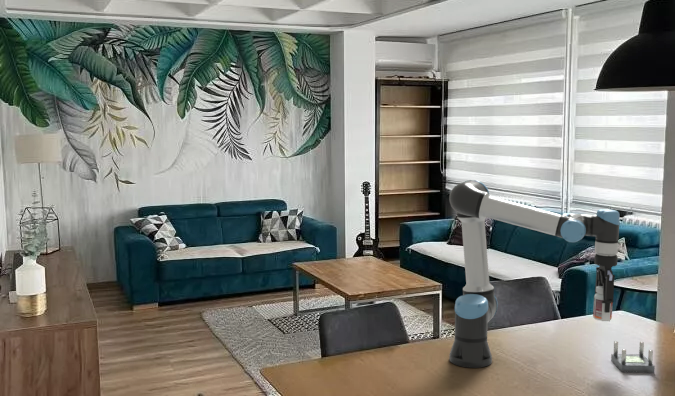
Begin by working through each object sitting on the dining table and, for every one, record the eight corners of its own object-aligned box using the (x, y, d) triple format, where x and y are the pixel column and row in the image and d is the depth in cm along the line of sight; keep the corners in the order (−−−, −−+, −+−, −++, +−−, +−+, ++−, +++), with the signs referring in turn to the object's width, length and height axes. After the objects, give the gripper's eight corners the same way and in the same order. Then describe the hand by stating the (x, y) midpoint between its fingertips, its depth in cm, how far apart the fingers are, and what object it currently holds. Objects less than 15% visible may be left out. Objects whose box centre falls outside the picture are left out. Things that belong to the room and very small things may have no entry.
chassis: (621, 372, 248) (622, 351, 247) (611, 360, 260) (611, 340, 259) (654, 372, 247) (655, 351, 246) (642, 361, 259) (643, 341, 258)
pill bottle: (614, 321, 250) (616, 289, 248) (598, 321, 249) (600, 289, 248) (605, 316, 256) (607, 285, 255) (589, 316, 255) (591, 285, 254)
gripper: (626, 259, 240) (622, 326, 243) (609, 248, 259) (605, 311, 262) (603, 259, 240) (599, 325, 243) (587, 248, 259) (584, 310, 262)
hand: (602, 318), depth 252 cm, fingers closed on pill bottle, 6 cm apart
